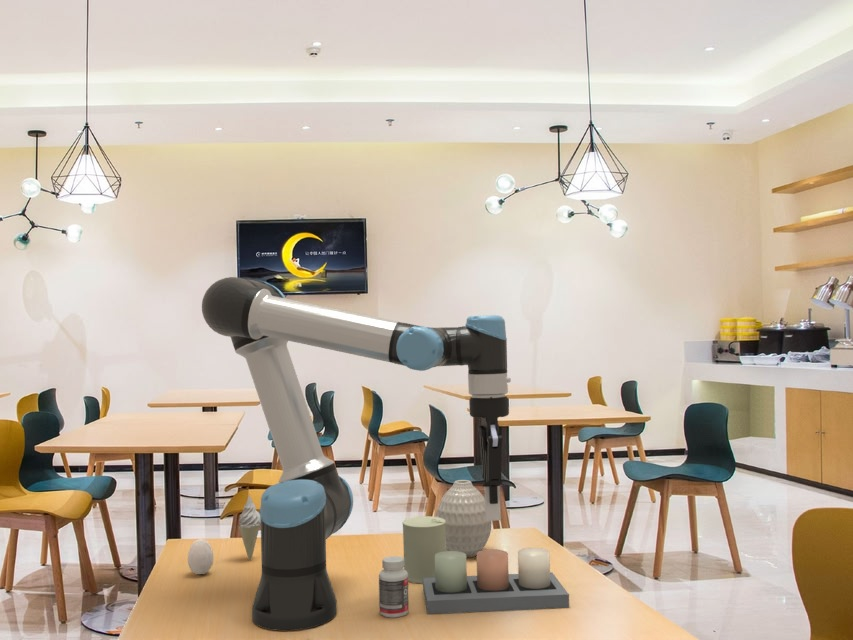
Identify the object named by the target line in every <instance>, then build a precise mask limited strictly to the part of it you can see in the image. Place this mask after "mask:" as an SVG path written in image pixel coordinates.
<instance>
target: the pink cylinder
mask: <svg viewBox="0 0 853 640" xmlns="http://www.w3.org/2000/svg"><path fill="white" fill-rule="evenodd" d="M476 576H477V586H478V587H479V588H480V589H483V590H490V591H497V590H503V589H506V588H508V587H509V553H508V551H506V550H503V549H496V548H494V549H493V548H491V549H490V548H489V549H487V548H486V549H482V550H481V551H478V552H477V556H476Z"/></svg>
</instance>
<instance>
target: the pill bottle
mask: <svg viewBox="0 0 853 640" xmlns="http://www.w3.org/2000/svg"><path fill="white" fill-rule="evenodd" d="M381 565H382V566H381V567H382V570H381V571H380V572H378V573H379V574H378V600H379V601H378V602H379V603H378V607H379V613H380V615H381V616H383V617H385V618H400V617H404V616H406V615H407V614H408V613H409V610H410V609H409V607H410V606H409V605H410V604H409V601H410V600H409V597H410V596H409V581H408V573H407V571H406V570H404V565H405V564H404V556H403V557H402V556H398V555H391V556H386V557H384V558H382V562H381Z"/></svg>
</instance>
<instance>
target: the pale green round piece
mask: <svg viewBox="0 0 853 640" xmlns="http://www.w3.org/2000/svg"><path fill="white" fill-rule="evenodd" d="M467 569H468V566H467V558H466V554H465V553H463V552H459V551H447V550H446V551H443V552H439V553H437V554H435V588H436V589H437V590H438V591H441V592H448V593H453V592H460V591H463V590H465V589H467V576H468V574H467V573H468V572H467V571H468V570H467Z"/></svg>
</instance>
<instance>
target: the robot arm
mask: <svg viewBox="0 0 853 640" xmlns="http://www.w3.org/2000/svg"><path fill="white" fill-rule="evenodd" d="M201 301H202V302H201V312H202V317H203V319H204V321H205V322H206V324H207V325H208V327H209V328H210V329H212V331H213V332H215V333H217V334H218V335H221V336H224V337H229V338H230V341H231V342H232V346H233V349H234V352H235V353H236V354H237V355H239V356H241V357H243V358H244V359H245V361H246V363H247V366H248V369H249V372H250V375H251V378H252V381H253V384H254V387H255V390H256V393H257V396H258V400H259V402H260V405H261V407H262V412H263V414H264V417H265V418H264V419H265V420H266V422H267V426H268V429H269V432H270V435H271V438H272V442H273V444H274V446H275V450H276V453H277V456H278V459H279V462H280V465H281V468H282V473H281V476H280V477H279V479H278V483H275V484H272V485H270V486H268V487H267V488H266V489H265V490H264V491H263V493H262V494H261V498H260V507H259V513H260V521H261V523H260V524H261V525H260V551H261V552H260V553H261V554H260V555H261V575H260V580H259V582H258V586H257V590H256V593H255V596H254V600H253V603H252V608H251V609H252V610H251V611H252V622H253V623H254V625H256V626H258V627H259V628H263V629H267V630H272V631H297V630H305V629H310V628H314V627H317V626H318V627H319V626H320V625H323V624H325V623H328V622H330V621H332V620H333V619H334V618H335V617H336V615H337V613H338V610H337V609H338V605H337V604H338V603H337V601H338V600H337V597H336V594H335V591H334V588H333V585H332V583H331V580H330V577H329V573H328V570H327V540H328V538H330V537H331V536H332V535H333V534H335V533H337V532H338V531H339V530H341V529H342V527H343V526H344V525H345V524H346V522H347V521H348V520H349V517H350V515H351V513H352V511H353V509H354V507H353V506H354V496H353V491H352V489H351V486H350V484H348V482H347V480H346V479H345V478H344V477H341V476H340V475H339V471H338V470H337V467H336V464H335V461H334V460H332V459H331V458H328V457H326V456H325V454H324V452H323V449H322V447H321V443H320V441H319V437H318V434H317V431H316V429H315V426H314V425H315V424H314V423H313V419H312V417H311V414H310V411H309V408H308V404H307V402H306V399H305V395H304V393H303V390H302V386H301V384H300V381H299V379H298V378H299V377H298V375H297V373H296V370H295V367H294V364H293V360H292V357H291V354H290V352H289V349H288V342H292V343H298V344H302V345H307V346H312V347H317V348H321V349H325V350H330V351H336V352H339V353H345V354H349V355H354V356H358V357H363V358H369V359H373V360H376V361H377V360H378V361H382V362H387V363H391V364H395V365H399V366H405V367H406V368H407V369H409V370H414V371H420V372H421V371H427V370H430V369H432V368H436V367H450V366H452V367H454V366H455V367H456V366H461V367H462V366H467V368H468V370H467V371H468V372H467V373H468V374H467V379H468V380H467V381H468V382H467V383H468V394H469V395H470V396H471V397H470V398H469V399H468V401H469V402H468V404H469V415H470V417H471V418H476V419H481V425H478V434H479V441H480V443H479V444H480V455H481V469H482V471H481V472H482V474H481V477H482V479H483V482H482V487H483V488H484V498H485V514H486V520H487V521H491V522H494V521H501V520H502V513H501V493H500V492H501V489H500V488H501V487H500V485H502V483H503V480H502V445H503V443H502V442H503V436H502V434H503V431H502V426H500V425H499V420H498V419H499V418H505V417H508V416H509V413H510V405H509V403H510V402H509V398H508V396H506V394H508V392H509V388H508V387H509V385H508V383H510V382H511V377H508V351H507V349H508V346H507V345H508V344H507V341H508V340H507V339H508V338H507V330H506V321H505V319H504V318H503V316H501V315H497V314H495V315H494V314H490V315H489V314H488V315H485V314H484V315H471V316H467V318H466V322H465V325H462V326H458V327H457V326H456V327H453V326H451V327H429V326H427V327H426V326H422V325H416V324H412V323H406V322H401V321H397V320H392V319H387V318H382V317H377V316H373V315H367V314H364V313H363V314H362V313H358V312H352V311H348V310H343V309H338V308H333V307H329V306H324V305H319V304H315V303H309V302H305V301H300V300H294V299H290V298H286V296H285V294H284V293H282V291H281V290H280V289H279V288H278V287H276V286H275V285H273V284H271V283H269V282H267V281H264V280H259V279H248V278H241V277H238V276H237V277H236V276H229V277H224V278H221V279H218V280H217V281H215V282H214V283H212V284H211V285H210V286H209V287H208V288H207V289H206V291H205V293H204V295H203V297H202V300H201Z"/></svg>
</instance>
